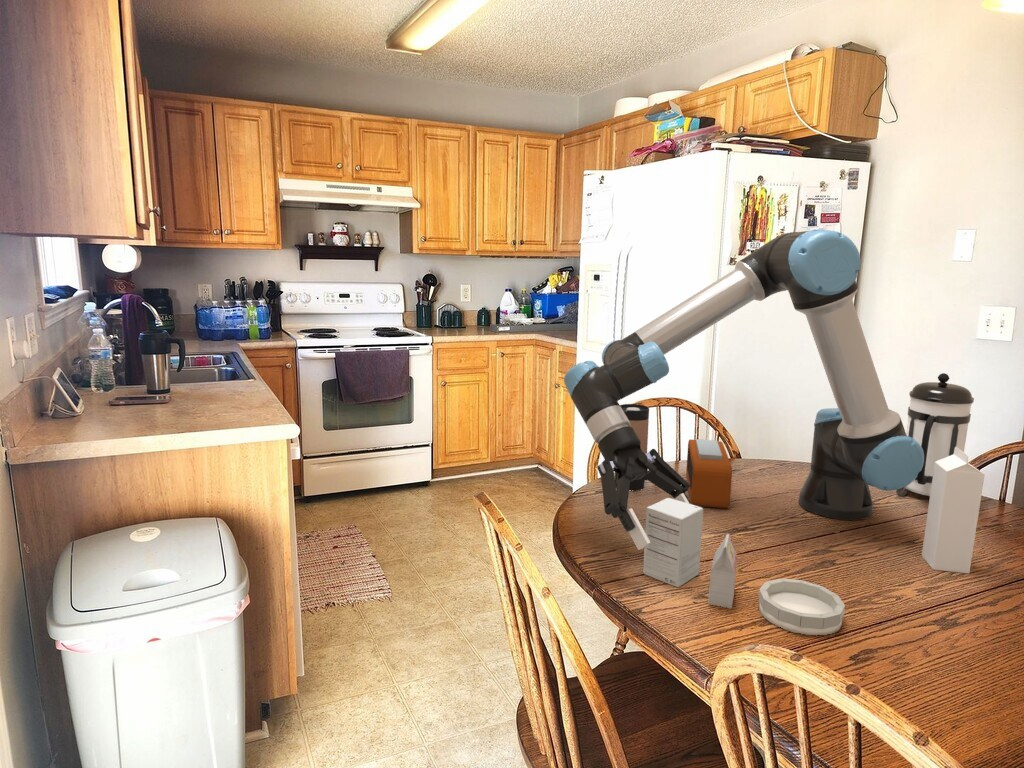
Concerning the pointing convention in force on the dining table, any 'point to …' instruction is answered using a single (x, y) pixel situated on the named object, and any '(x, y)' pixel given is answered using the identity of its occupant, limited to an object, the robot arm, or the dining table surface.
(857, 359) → the robot arm
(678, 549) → the supplement box
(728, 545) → the white juice carton
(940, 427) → the coffee press
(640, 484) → the travel mug
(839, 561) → the dining table surface
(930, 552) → the milk
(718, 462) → the alarm clock
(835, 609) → the white faceted bowl
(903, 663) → the dining table surface
